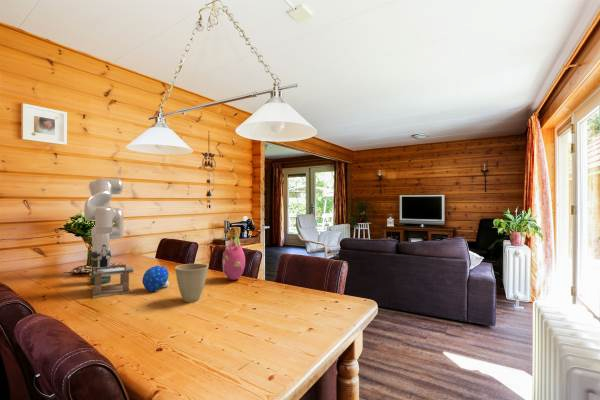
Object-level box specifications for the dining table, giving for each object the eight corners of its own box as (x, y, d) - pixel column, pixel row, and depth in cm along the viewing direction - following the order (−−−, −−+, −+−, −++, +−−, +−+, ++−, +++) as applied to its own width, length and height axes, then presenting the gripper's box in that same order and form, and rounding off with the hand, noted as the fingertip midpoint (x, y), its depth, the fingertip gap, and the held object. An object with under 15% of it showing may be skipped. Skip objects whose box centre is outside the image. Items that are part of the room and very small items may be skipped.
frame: (92, 288, 164) (92, 266, 164) (126, 284, 173) (126, 263, 173) (93, 298, 148) (93, 274, 148) (130, 292, 157) (130, 270, 157)
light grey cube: (97, 266, 159) (97, 256, 159) (108, 265, 162) (108, 255, 162) (97, 268, 155) (97, 258, 155) (109, 266, 158) (109, 257, 158)
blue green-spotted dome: (181, 271, 170) (162, 259, 160) (173, 296, 162) (152, 284, 151) (162, 274, 175) (142, 262, 165) (153, 298, 166) (131, 287, 156)
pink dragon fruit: (219, 277, 190) (219, 229, 190) (240, 275, 195) (241, 228, 195) (225, 284, 173) (225, 231, 174) (248, 282, 179) (248, 230, 179)
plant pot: (197, 306, 138) (197, 270, 138) (168, 303, 141) (168, 269, 141) (213, 296, 153) (213, 264, 153) (186, 294, 156) (186, 262, 156)
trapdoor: (97, 272, 162) (97, 269, 162) (131, 268, 171) (131, 265, 171) (97, 277, 152) (98, 273, 152) (133, 273, 161) (133, 270, 161)
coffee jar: (94, 285, 169) (95, 252, 169) (88, 283, 173) (88, 251, 173) (113, 282, 177) (113, 250, 177) (106, 280, 182) (106, 248, 182)
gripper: (94, 229, 163) (94, 263, 164) (95, 232, 149) (95, 270, 150) (111, 229, 168) (111, 262, 168) (113, 232, 154) (113, 268, 154)
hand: (103, 265), depth 159 cm, fingers closed on light grey cube, 5 cm apart
